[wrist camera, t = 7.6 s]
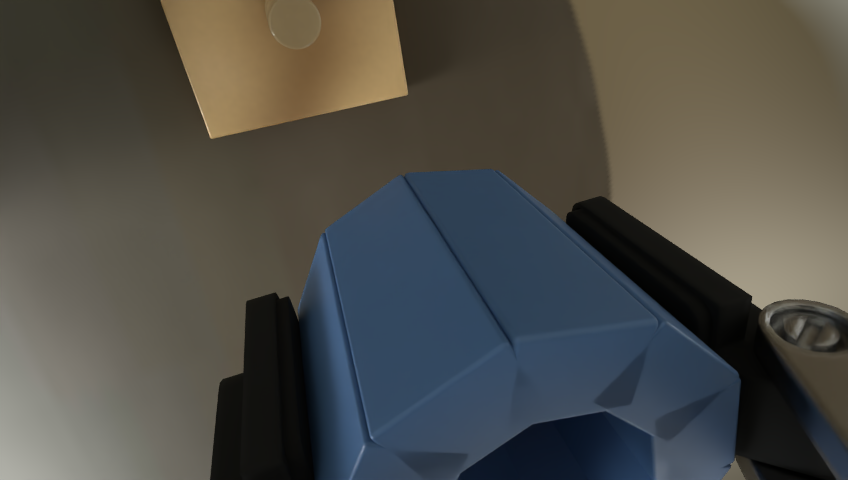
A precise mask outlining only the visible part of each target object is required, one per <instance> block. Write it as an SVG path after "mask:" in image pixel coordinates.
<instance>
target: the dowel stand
mask: <svg viewBox="0 0 848 480" xmlns="http://www.w3.org/2000/svg"><path fill="white" fill-rule="evenodd" d="M160 2H161V4H162V7H163V10H164V13H165V15H166V18H167V21H168V23H169V26H170V29H171V32H172V34H173V37H174V40H175V43H176V45H177V48H178V51H179V53H180V56H181V59H182V62H183V64H184V67H185V70H186V73H187V75H188V78H189V81H190V83H191V86H192V89H193V92H194V94H195V97H196V100H197V103H198V105H199V108H200V111H201V113H202V116H203V119H204V122H205V124H206V127H207V130H208V133H209V135H210V138H212V139H214V138H218V137H223V136H227V135H232V134H236V133H240V132H245V131H249V130H254V129H258V128H263V127H267V126H272V125H276V124H281V123H285V122H289V121H294V120H298V119H303V118H307V117H312V116H316V115H321V114H325V113H330V112H334V111H338V110H343V109H347V108H352V107H356V106H361V105H365V104H370V103H374V102H379V101H383V100H387V99H392V98H396V97H401V96H405V95H408V89H407V83H406V77H405V70H404V64H403V58H402V52H401V46H400V40H399V33H398V27H397V21H396V15H395V9H394V3H393V0H160Z"/></svg>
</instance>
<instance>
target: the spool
mask: <svg viewBox="0 0 848 480" xmlns="http://www.w3.org/2000/svg"><path fill="white" fill-rule="evenodd" d="M325 232H326V233H322V235H321V237H320V240H319V243H318V246H317V250H316V253H315V256H314V259H313V262H312V265H311V269H310V272H309V275H308V278H307V281H306V285H305V288H304V291H303V294H302V297H301V300H300V304H299V307H298V317H299V329H300V340H301V351H302V363H303V373H304V383H305V392H306V402H307V412H308V421H309V431H310V441H311V451H312V460H313V470H314V480H721V479H722V478H723V477H724V476H725V474H726V473H727V472H728V470H729V469H730V467H731V465H730V464H731V463H733V461H734V459H735V447H736V435H737V423H738V411H739V399H740V387H741V380H740V378H739V374H738V372H737V371H736V370H735V369H734V368H733V367H731V366H730V365H729V364H728V363H727V362H726V361H724V360H723V359H722V358H721V357H720V356H719V355H718V354H716V353H715V352H714V351H713V350H712V349H711V348H709V347H708V346H707V345H706V344H705V343H704V342H703V341H701V340H700V339H699V338H698V337H697V336H696V335H694V334H693V333H692V332H691V331H690V330H689V329H687V328H686V327H685V326H684V325H683V324H682V323H681V322H679V321H678V320H677V319H676V318H675V317H674V316H672V315H671V314H670V313H669V312H668V311H667V310H666V309H664V308H663V307H662V306H661V305H660V304H659V303H657V302H656V301H655V300H654V299H653V298H652V297H651V296H649V295H648V294H647V293H646V292H645V291H644V290H642V289H641V288H640V287H639V286H638V285H637V284H636V283H634V282H633V281H632V280H631V279H630V278H629V277H627V276H626V275H625V274H624V273H623V272H622V271H620V270H619V269H618V268H617V267H616V266H615V265H614V264H612V263H611V262H610V261H609V260H608V259H607V258H605V257H604V256H603V255H602V254H601V253H600V252H599V251H597V250H596V249H595V248H594V247H593V246H592V245H590V244H589V243H588V242H587V241H586V240H585V239H584V238H582V237H581V236H580V235H579V234H578V233H577V232H575V231H574V230H573V229H572V228H571V227H570V226H569V225H567V224H566V223H565V222H564V221H563V220H562V219H560V218H559V217H558V216H557V215H556V214H555V213H553V212H552V211H551V210H550V209H548V208H547V207H546V206H544V205H543V204H542V203H540V202H539V201H538V200H536V199H535V198H534V197H533V196H531V195H530V194H529V193H527V192H526V191H525V190H523V189H522V188H521V187H519V186H518V185H517V184H516V183H514V182H513V181H512V180H510V179H509V178H508V177H506V176H505V175H504V174H502V173H501V172H500V171H498V170H496V171H494V170H492V169H484V170H461V171H438V172H415V173H407V174H405V177H403V176H402V175H399V176H397V177H396V178H394V179H393V180H392V181H390V182H389V183H388V184H386V185H385V186H384V187H382V188H381V189H379V190H378V191H377V192H375V193H374V194H373V195H371V196H370V197H369V198H367V199H366V200H364V201H363V202H362V203H360V204H359V205H358V206H356V207H355V208H354V209H352V210H351V211H349V212H348V213H347V214H345V215H344V216H343V217H341V218H340V219H339V220H337V221H336V222H334V223H333V224H332V225H330V226H329V227H328V228H326V230H325Z"/></svg>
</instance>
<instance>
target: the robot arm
mask: <svg viewBox="0 0 848 480" xmlns="http://www.w3.org/2000/svg"><path fill="white" fill-rule="evenodd" d="M566 224H567V225H569V226H570V227H571V228H572V229H573V230H574V231H575V232H577V233H578V234H579V235H580V236H581V237H582V238H584V239H585V240H586V241H587V242H588V243H589V244H590V245H592V246H593V247H594V248H595V249H596V250H597V251H599V252H600V253H601V254H602V255H603V256H604V257H605V258H607V259H608V260H609V261H610V262H611V263H612V264H614V265H615V266H616V267H617V268H618V269H619V270H620V271H622V272H623V273H624V274H625V275H626V276H627V277H629V278H630V279H631V280H632V281H633V282H634V283H636V284H637V285H638V286H639V287H640V288H641V289H642V290H644V291H645V292H646V293H647V294H648V295H649V296H651V297H652V298H653V299H654V300H655V301H656V302H657V303H659V304H660V305H661V306H662V307H663V308H664V309H666V310H667V311H668V312H669V313H670V314H671V315H672V316H674V317H675V318H676V319H677V320H678V321H679V322H681V323H682V324H683V325H684V326H685V327H686V328H687V329H689V330H690V331H691V332H692V333H693V334H694V335H696V336H697V337H698V338H699V339H700V340H701V341H703V342H704V343H705V344H706V345H707V346H708V347H709V348H711V349H712V350H713V351H714V352H715V353H716V354H718V355H719V356H720V357H721V358H722V359H723V360H724V361H726V362H727V363H728V364H729V365H730V366H731V367H733V368H734V369H735V370H736V371H737V372H738V374H739V378H740V380H741V387H740V399H739V411H738V423H737V435H736V447H735V458H736V461H737V463H738V465H739V467H740V469H741V471H742V473H743V475H744V477H745V479H746V480H848V313H846V312H845V311H842V310H841V309H839V308H836V307H834V306H830V305H827V304H824V303H820V302H815V301H809V300H783V301H777V302H774V303H772V304H770V305H768V306H766V307H765V308H764V309H763V310H761V309H760V308H758V307H757V306H755V305H754V304H752V303H751V301H752V296H751V295H749V294H748V293H746V292H745V291H743V290H742V289H740V288H739V287H737V286H736V285H734V284H733V283H731V282H730V281H728V280H727V279H725V278H724V277H722V276H721V275H719V274H718V273H716V272H715V271H713V270H712V269H710V268H709V267H707V266H706V265H704V264H703V263H702V262H700V261H698V260H697V259H695V258H694V257H693V256H691V255H690V254H688V253H687V252H685V251H684V250H682V249H681V248H679V247H678V246H676V245H675V244H673V243H672V242H670V241H669V240H667V239H666V238H664V237H663V236H661V235H660V234H658V233H657V232H655V231H654V230H652V229H651V228H649V227H648V226H646V225H645V224H643V223H642V222H640V221H639V220H637V219H636V218H634V217H633V216H631V215H630V214H628V213H627V212H625V211H624V210H622V209H621V208H619V207H618V206H616V205H615V204H613V203H612V202H610V201H609V200H607V199H606V198H604V197H602V196H599V197H595V198H592V199H589V200H585V201H582V202H578V203H576V204H575V205H574V206H573V209H572V212H569V213H568V214H567V216H566ZM210 480H314V470H313V460H312V451H311V441H310V431H309V421H308V412H307V402H306V392H305V383H304V373H303V363H302V351H301V340H300V329H299V321H298V319H297V316H296V313H295V311H294V308H293V305H292V303H291V300H290V298H289V297H284V298H281V299H279V297H278V295H277V294H276V293H272V294H269V295H265V296H262V297H258V298H255V299H252V300H248V301H247V302H246V320H245V347H244V373H241V374H238V375H235V376H232V377H229V378H226V379H223V380H222V381H221V382H220V386H219V392H218V403H217V413H216V424H215V434H214V445H213V456H212V466H211V477H210Z"/></svg>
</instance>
